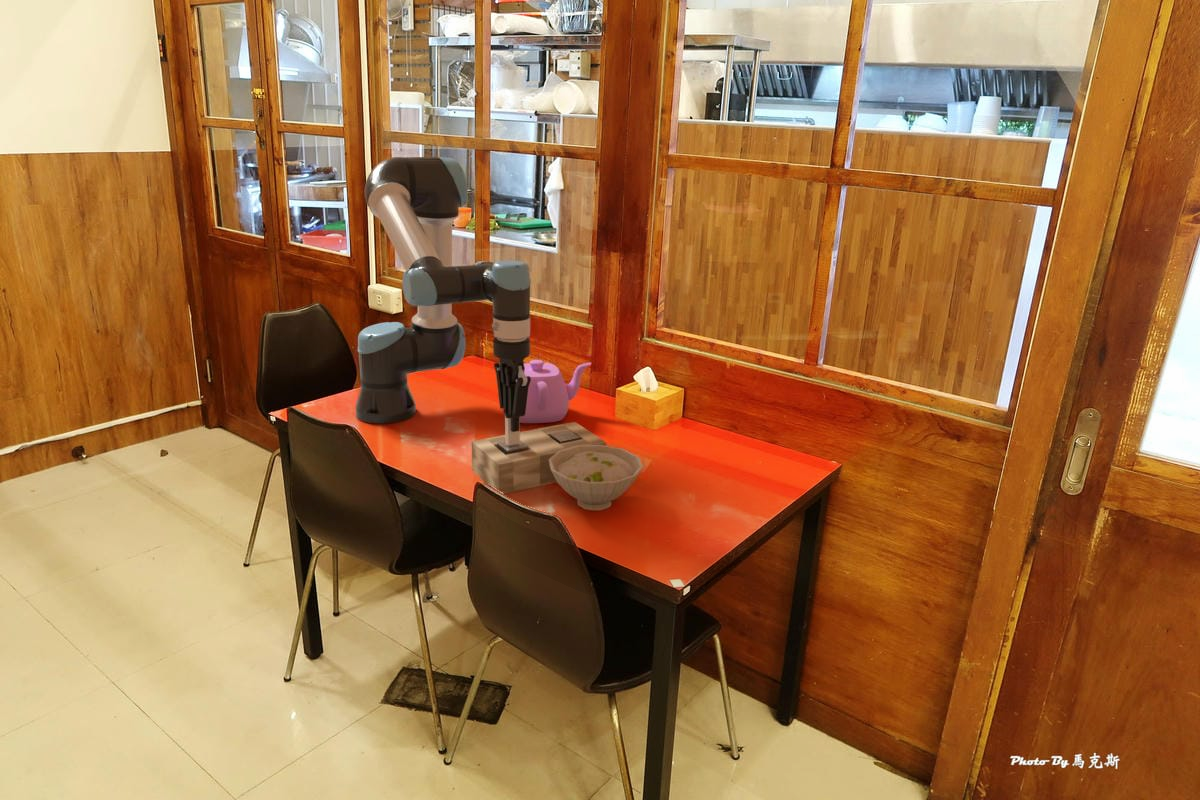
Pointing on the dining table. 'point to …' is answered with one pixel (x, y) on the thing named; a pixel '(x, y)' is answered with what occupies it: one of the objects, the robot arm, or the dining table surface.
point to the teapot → (549, 392)
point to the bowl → (595, 473)
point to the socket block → (525, 458)
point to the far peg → (564, 437)
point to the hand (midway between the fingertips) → (512, 443)
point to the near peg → (511, 447)
